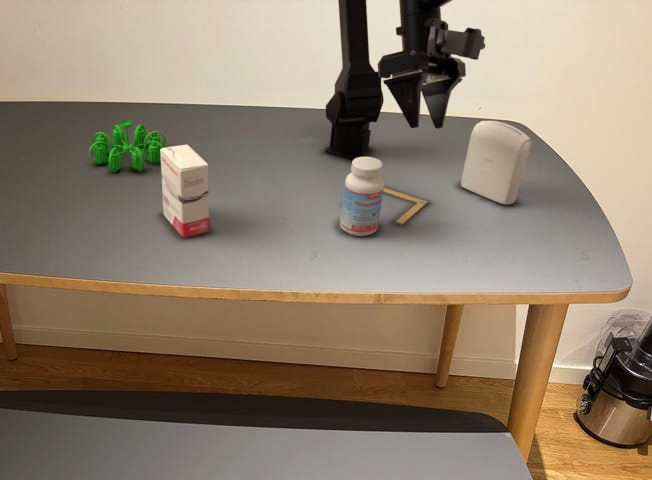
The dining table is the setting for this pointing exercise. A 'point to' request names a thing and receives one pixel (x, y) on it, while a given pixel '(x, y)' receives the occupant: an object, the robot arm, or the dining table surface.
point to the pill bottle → (362, 197)
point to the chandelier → (127, 147)
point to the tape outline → (415, 208)
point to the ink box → (185, 190)
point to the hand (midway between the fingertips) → (427, 127)
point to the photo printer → (496, 161)
